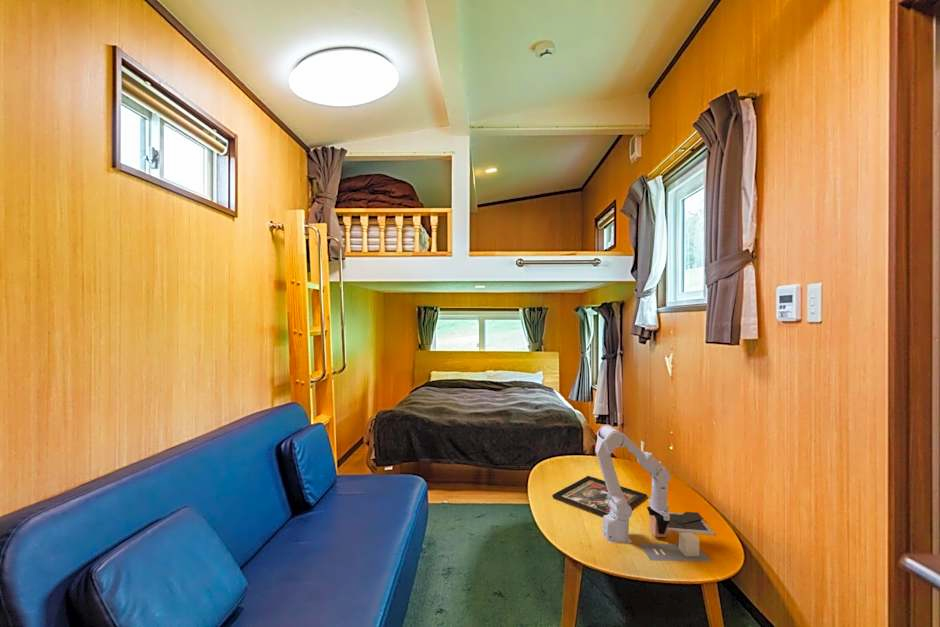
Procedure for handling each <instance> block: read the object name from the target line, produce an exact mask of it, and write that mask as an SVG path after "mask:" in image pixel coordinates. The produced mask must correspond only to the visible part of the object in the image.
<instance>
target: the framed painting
mask: <svg viewBox="0 0 940 627" xmlns="http://www.w3.org/2000/svg"><path fill="white" fill-rule="evenodd" d="M620 487H621V491H622V493H623V495H624V497H625V499H626V501H627V503H628V505H629V506H630V507H631V508H632V510H633V509H634V508H635V507H637V506H638V505H639V504H641V502H643V501H644V500H646V499H647V497H648V494H647V493H644V492H640V491H638V490H635V489H630V488H628V487H624V486H622V485H620ZM607 493H608V490H607V487H606V484H605V480H604V479H600V478H597V477H594V476H590V475H587V476H585V477H583V478H581V479H580V480H577V481H576V482H574V483H572V484H569V485H568V486H566V487H564V488H562V489H561V490H558V491H557V492H555V493H553V494H552V496H551V497H552V499H554V500H556V501H559V502H561V503H563V504H566V505H568V506H570V507H573V508H577V509H579V510H581V511H583V512H584V511H585V512H586V513H590V514H592V515H595V516H597V517H600V518H602V519H603V516H604V515H608V514H610V507H609V506H608V496H607Z"/></svg>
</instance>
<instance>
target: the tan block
mask: <svg viewBox="0 0 940 627" xmlns="http://www.w3.org/2000/svg"><path fill="white" fill-rule="evenodd" d="M700 541H701V540H700V538H698V537H697V536H696V535H695V533H683V532H678V544H679V549H680V550H681V552H682V553H683V554H684V555H685V556H699V548H700V543H701V542H700Z"/></svg>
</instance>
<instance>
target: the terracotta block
mask: <svg viewBox="0 0 940 627" xmlns="http://www.w3.org/2000/svg"><path fill="white" fill-rule="evenodd" d="M649 531H650V533H651V534H652V535H653V536H654V537H656V538H658V537H659V538H660V537H661V538H663V537H664V538H665V537H666V538H668V536H669V531H668V525H667V528H666V531H665V534H659V533H658V526H657V521H656V518H655V515H649Z"/></svg>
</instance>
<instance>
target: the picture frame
mask: <svg viewBox="0 0 940 627" xmlns="http://www.w3.org/2000/svg"><path fill="white" fill-rule="evenodd" d="M668 513H669V515H670V518H671V521H670V522H669V523H668V532H672V533H673V532H674V533H693V534H697V535H698V534H699V535H707V536H709V535H711V536H715V532H714V531H713V530H712V529H711V528H710V526H709V525H708V524H707V523H706V522H705V520H704V518H703V517H702V516H701V514H700V512H692V511H685V512H684V513H683V512H673V511H672V512H671V511H670V512H669V511H668ZM648 516H650V514H649V513H648Z"/></svg>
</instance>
